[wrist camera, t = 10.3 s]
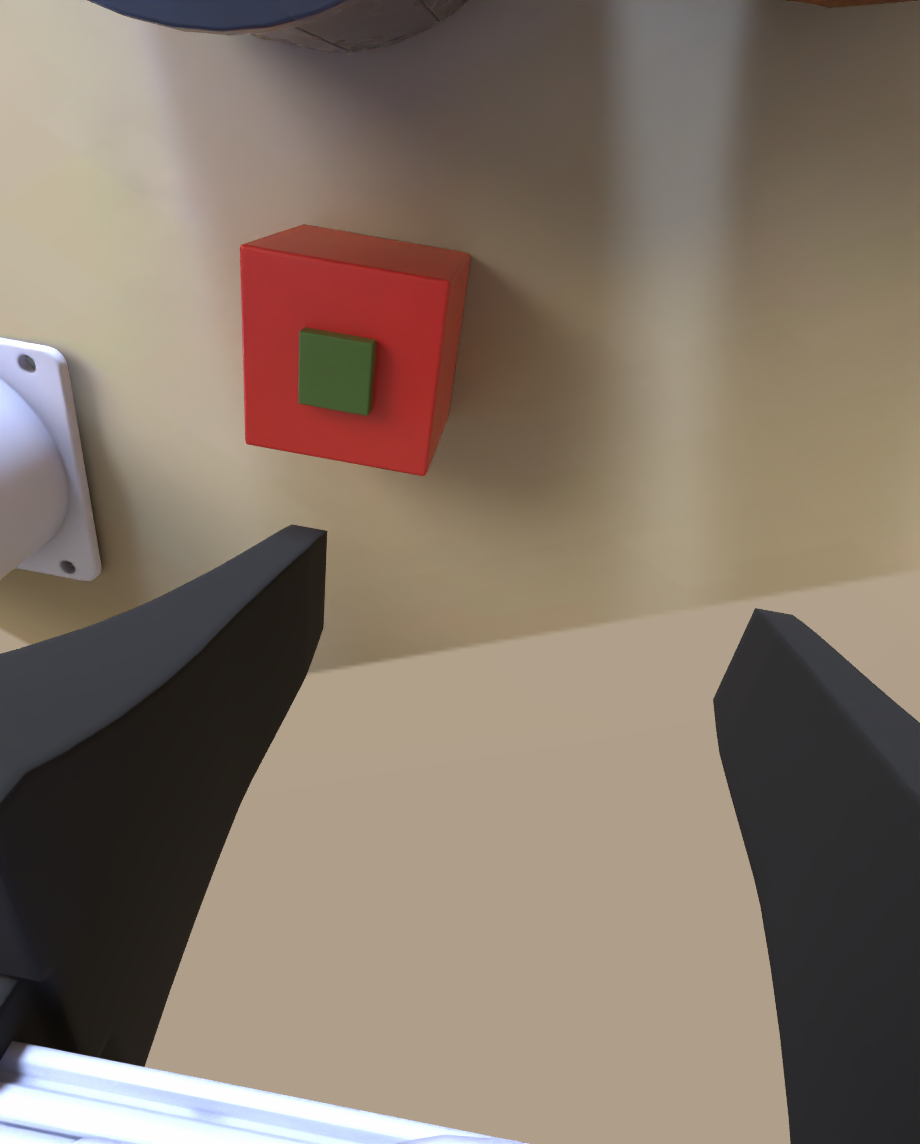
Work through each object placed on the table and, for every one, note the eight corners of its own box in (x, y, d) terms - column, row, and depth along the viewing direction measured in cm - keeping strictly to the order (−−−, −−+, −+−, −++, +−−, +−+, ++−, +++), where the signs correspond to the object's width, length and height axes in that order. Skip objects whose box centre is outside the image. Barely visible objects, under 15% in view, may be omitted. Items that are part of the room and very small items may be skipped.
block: (299, 391, 20) (237, 451, 16) (301, 223, 17) (230, 246, 14) (448, 417, 20) (423, 485, 16) (471, 253, 17) (448, 284, 14)
